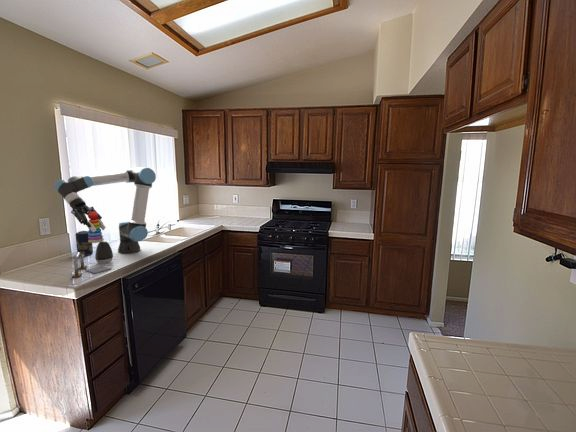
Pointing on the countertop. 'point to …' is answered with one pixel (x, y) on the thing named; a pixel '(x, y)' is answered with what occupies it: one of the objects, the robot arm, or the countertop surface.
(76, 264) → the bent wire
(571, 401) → the countertop surface
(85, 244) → the canister
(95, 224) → the stacking toy
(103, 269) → the mat
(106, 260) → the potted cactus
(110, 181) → the robot arm
